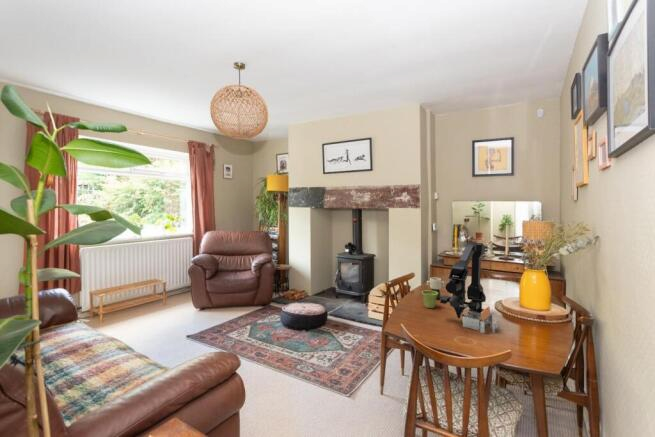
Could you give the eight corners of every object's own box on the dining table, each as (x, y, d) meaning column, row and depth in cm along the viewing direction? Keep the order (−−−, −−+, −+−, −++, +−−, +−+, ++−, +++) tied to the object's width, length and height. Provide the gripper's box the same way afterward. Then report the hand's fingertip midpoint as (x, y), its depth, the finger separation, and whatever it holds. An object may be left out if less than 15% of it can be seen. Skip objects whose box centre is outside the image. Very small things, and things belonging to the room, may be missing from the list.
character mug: (443, 297, 217) (444, 277, 217) (444, 300, 211) (444, 280, 210) (426, 295, 220) (426, 276, 220) (426, 299, 214) (426, 279, 213)
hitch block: (470, 319, 177) (470, 309, 177) (500, 326, 168) (500, 315, 167) (461, 327, 166) (461, 317, 166) (492, 335, 157) (492, 324, 157)
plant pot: (427, 309, 194) (427, 295, 193) (418, 304, 203) (418, 291, 202) (441, 308, 196) (441, 293, 196) (432, 303, 205) (432, 289, 205)
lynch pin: (464, 320, 175) (464, 312, 174) (491, 327, 166) (491, 318, 166) (461, 323, 171) (461, 315, 171) (488, 329, 163) (488, 321, 162)
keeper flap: (491, 316, 169) (489, 316, 170) (489, 306, 169) (487, 306, 170) (484, 323, 160) (482, 323, 161) (482, 312, 160) (480, 312, 161)
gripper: (435, 289, 173) (435, 318, 174) (472, 296, 161) (472, 327, 162) (444, 285, 181) (444, 312, 182) (479, 291, 169) (479, 320, 170)
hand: (459, 318), depth 174 cm, fingers closed
